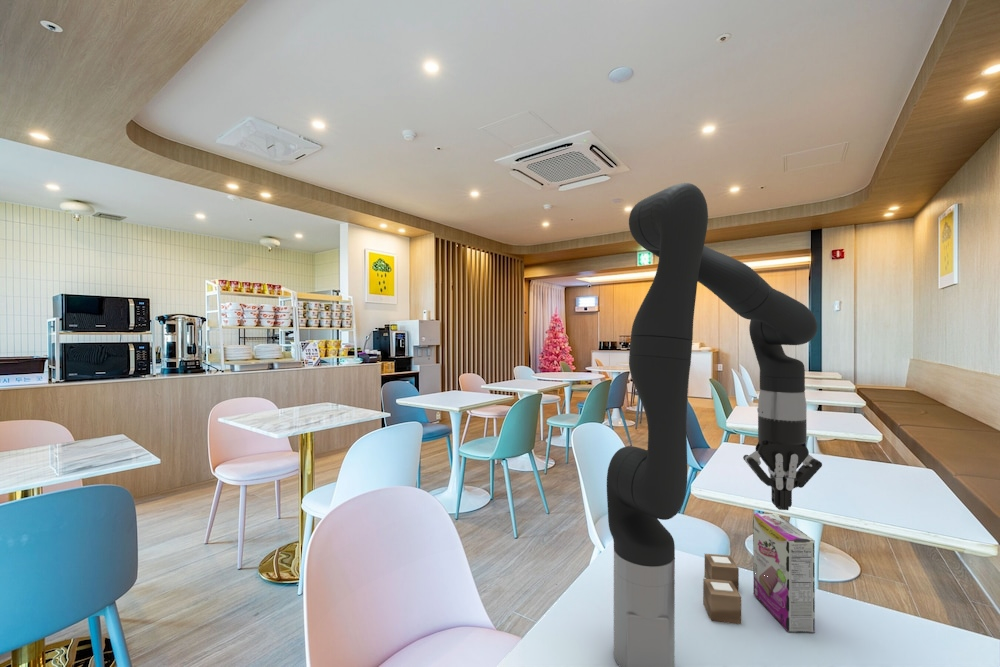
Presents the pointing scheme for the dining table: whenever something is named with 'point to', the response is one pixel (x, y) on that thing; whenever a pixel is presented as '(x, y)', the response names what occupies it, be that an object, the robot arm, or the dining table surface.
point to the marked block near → (722, 601)
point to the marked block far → (721, 568)
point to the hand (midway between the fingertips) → (781, 508)
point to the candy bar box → (784, 571)
